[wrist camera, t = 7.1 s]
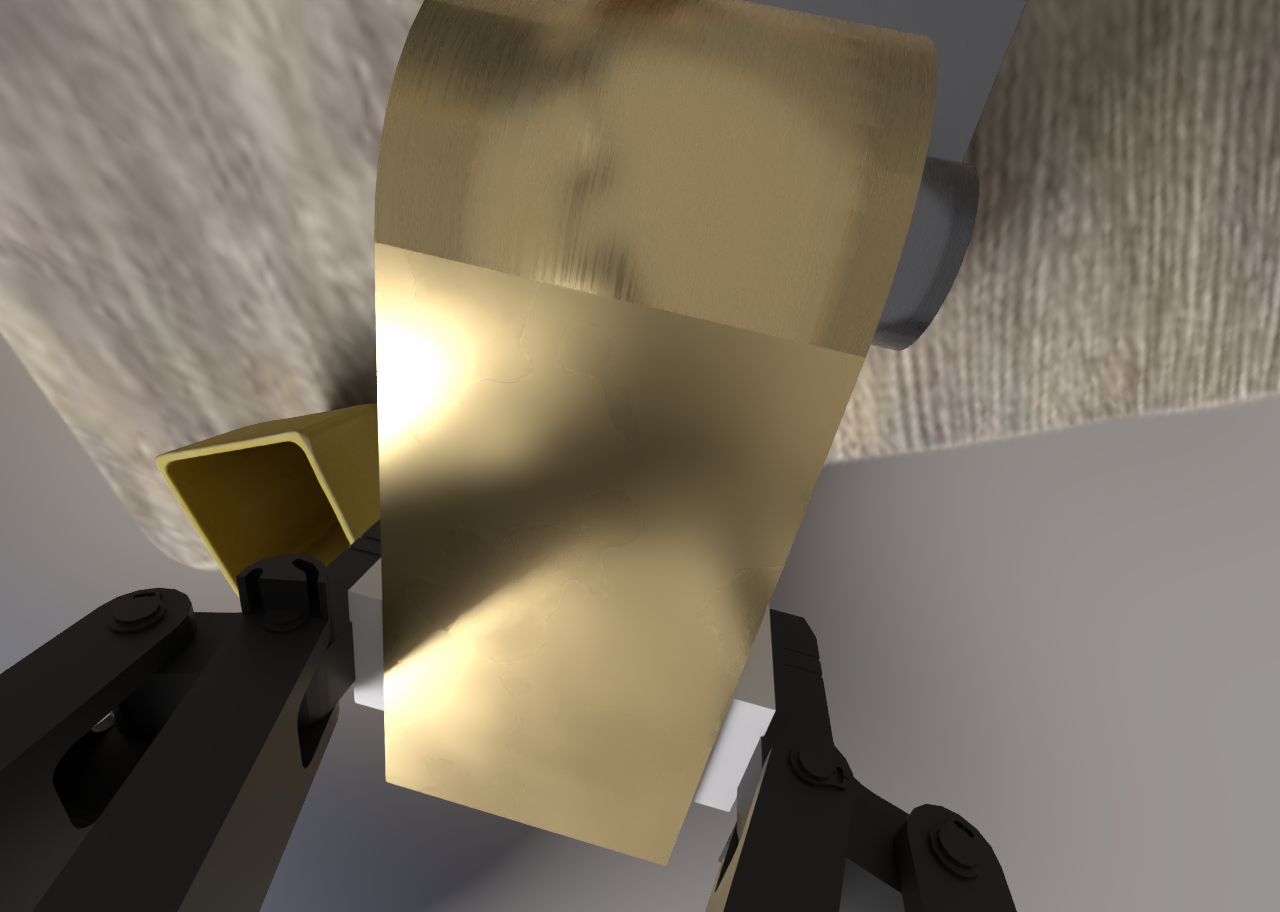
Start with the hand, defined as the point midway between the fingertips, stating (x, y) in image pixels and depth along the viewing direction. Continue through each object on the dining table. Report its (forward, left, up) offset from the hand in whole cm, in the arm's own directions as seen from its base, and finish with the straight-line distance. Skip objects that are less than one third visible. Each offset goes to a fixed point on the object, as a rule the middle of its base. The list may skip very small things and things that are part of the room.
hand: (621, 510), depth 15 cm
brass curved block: (-4, 0, 0) cm, 4 cm away
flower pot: (+10, -17, -16) cm, 25 cm away
